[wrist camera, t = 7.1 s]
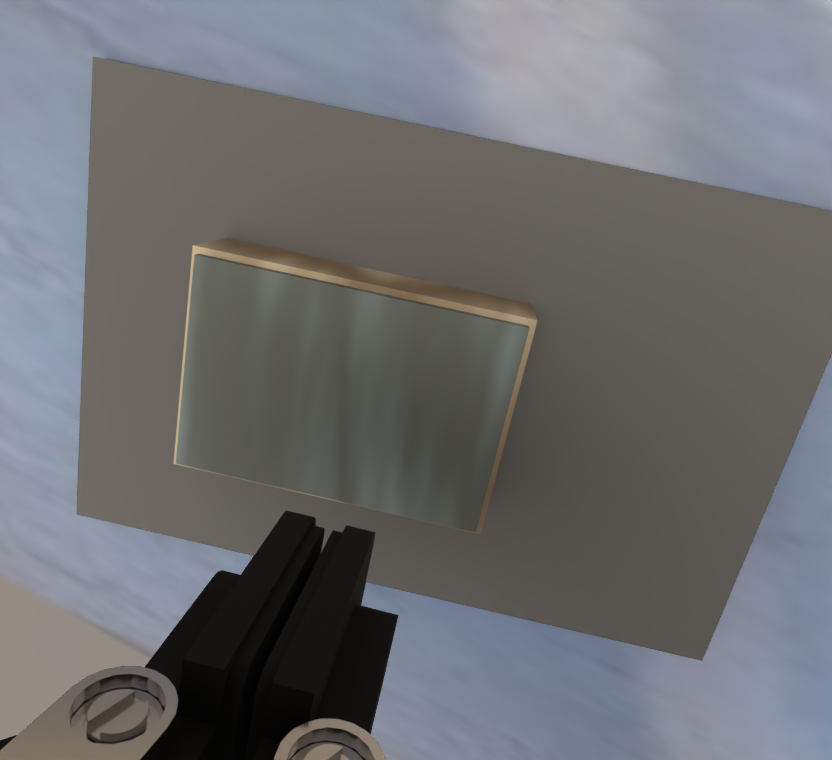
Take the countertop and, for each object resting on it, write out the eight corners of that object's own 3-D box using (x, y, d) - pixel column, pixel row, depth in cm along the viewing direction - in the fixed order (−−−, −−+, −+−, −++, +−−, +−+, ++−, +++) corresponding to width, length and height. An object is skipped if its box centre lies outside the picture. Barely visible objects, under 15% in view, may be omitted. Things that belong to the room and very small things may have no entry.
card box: (538, 322, 18) (188, 246, 18) (480, 539, 20) (169, 467, 20) (531, 303, 20) (226, 237, 21) (481, 496, 22) (205, 434, 23)
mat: (875, 221, 19) (887, 222, 19) (696, 649, 24) (701, 660, 24) (104, 60, 20) (93, 56, 19) (85, 506, 25) (76, 514, 24)
